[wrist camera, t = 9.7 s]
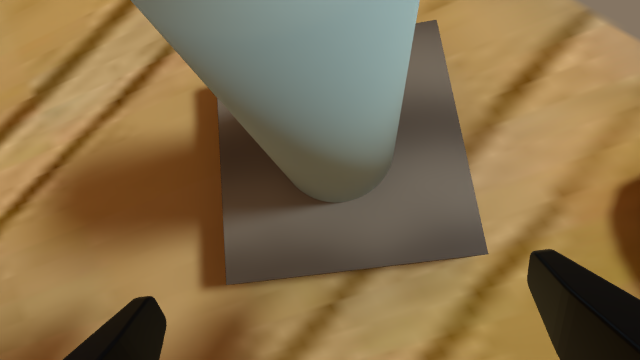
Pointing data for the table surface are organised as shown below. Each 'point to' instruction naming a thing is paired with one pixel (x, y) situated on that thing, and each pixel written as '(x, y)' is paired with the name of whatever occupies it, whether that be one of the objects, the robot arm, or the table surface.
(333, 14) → the sage wooden pillar
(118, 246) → the table surface
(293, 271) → the grey square slab
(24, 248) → the table surface
